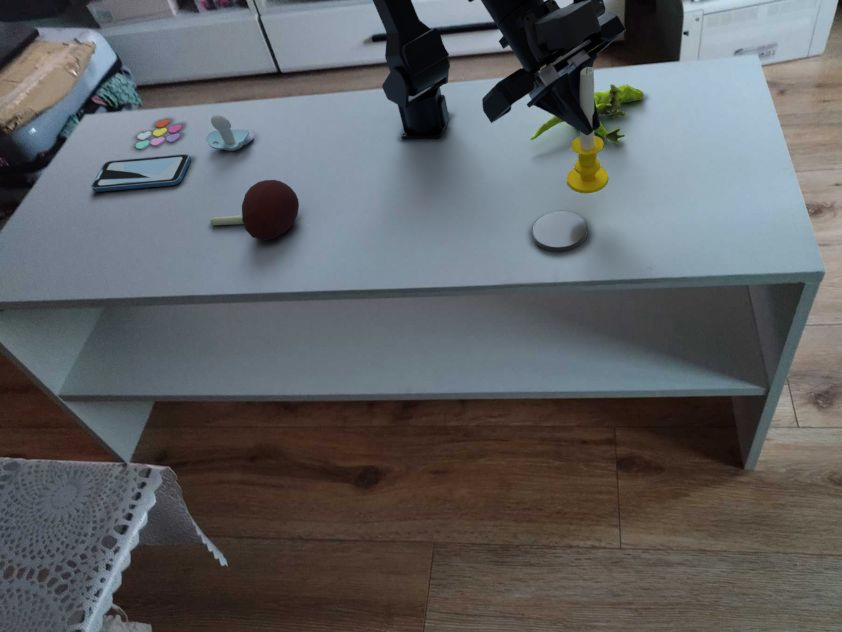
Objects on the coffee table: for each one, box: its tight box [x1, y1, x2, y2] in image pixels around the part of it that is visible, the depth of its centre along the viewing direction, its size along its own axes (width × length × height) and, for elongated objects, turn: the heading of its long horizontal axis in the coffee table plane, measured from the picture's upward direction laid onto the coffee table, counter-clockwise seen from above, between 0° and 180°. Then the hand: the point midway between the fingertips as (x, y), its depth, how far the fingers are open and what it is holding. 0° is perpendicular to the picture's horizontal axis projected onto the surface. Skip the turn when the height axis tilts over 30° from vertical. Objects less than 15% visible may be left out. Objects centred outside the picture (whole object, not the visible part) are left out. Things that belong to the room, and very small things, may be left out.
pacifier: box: [205, 114, 255, 152], centre depth 114 cm, size 7×6×6 cm
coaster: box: [531, 210, 588, 253], centre depth 91 cm, size 7×7×1 cm
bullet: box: [209, 215, 244, 226], centre depth 102 cm, size 1×1×8 cm
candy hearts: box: [134, 118, 183, 150], centre depth 122 cm, size 8×8×1 cm
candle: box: [566, 66, 610, 195], centre depth 83 cm, size 5×5×16 cm
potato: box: [241, 179, 300, 241], centre depth 98 cm, size 8×9×6 cm
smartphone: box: [90, 153, 192, 193], centre depth 114 cm, size 7×1×15 cm
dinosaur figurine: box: [529, 83, 644, 145], centre depth 101 cm, size 20×10×6 cm, turn 133°
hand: (593, 131), depth 81 cm, fingers closed on candle
